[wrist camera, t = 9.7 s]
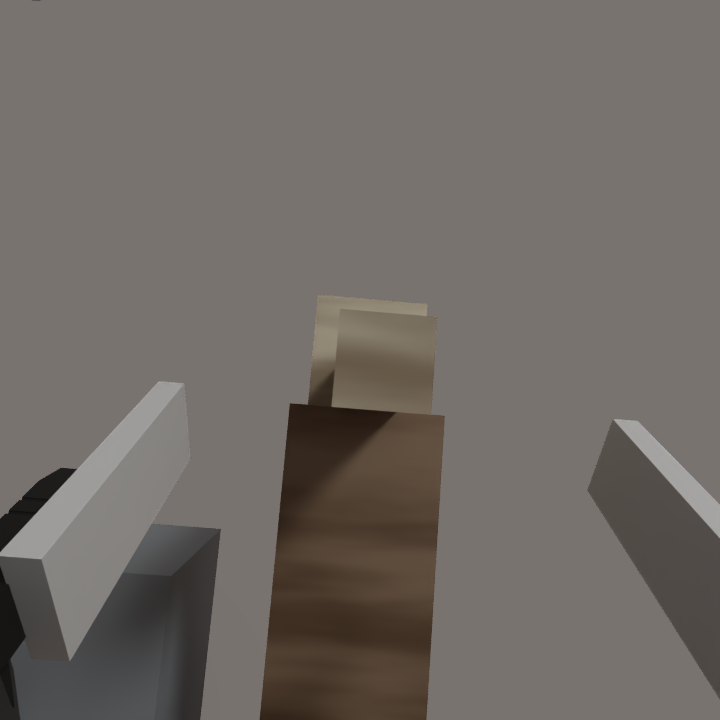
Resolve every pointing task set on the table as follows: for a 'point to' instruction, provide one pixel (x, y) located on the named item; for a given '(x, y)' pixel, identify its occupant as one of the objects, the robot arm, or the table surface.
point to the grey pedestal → (136, 640)
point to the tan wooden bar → (373, 355)
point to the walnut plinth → (354, 566)
